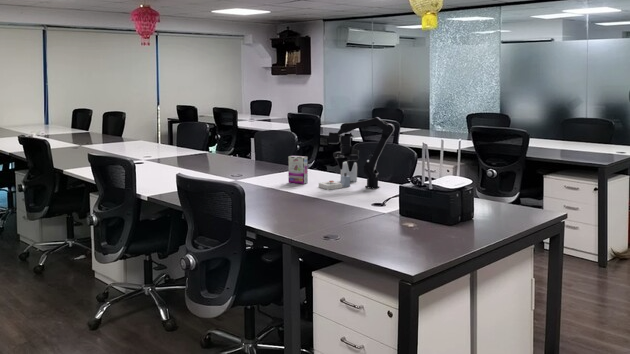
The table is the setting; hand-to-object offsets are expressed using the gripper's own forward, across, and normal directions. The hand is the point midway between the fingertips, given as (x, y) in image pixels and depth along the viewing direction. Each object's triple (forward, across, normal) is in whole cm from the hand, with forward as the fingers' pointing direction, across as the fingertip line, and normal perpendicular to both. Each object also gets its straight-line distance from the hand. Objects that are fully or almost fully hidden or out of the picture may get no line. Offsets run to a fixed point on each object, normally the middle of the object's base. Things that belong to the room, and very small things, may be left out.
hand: (345, 170), depth 347 cm
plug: (+9, 0, 0) cm, 9 cm away
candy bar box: (+9, +23, +19) cm, 31 cm away
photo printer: (+10, +12, -11) cm, 19 cm away
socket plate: (+9, +1, +10) cm, 14 cm away
